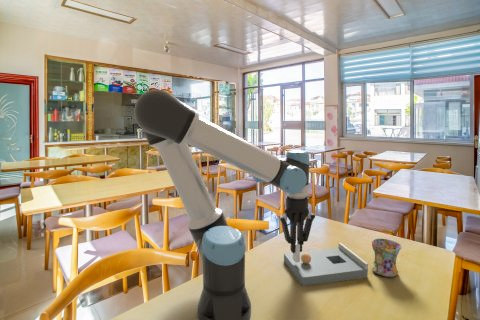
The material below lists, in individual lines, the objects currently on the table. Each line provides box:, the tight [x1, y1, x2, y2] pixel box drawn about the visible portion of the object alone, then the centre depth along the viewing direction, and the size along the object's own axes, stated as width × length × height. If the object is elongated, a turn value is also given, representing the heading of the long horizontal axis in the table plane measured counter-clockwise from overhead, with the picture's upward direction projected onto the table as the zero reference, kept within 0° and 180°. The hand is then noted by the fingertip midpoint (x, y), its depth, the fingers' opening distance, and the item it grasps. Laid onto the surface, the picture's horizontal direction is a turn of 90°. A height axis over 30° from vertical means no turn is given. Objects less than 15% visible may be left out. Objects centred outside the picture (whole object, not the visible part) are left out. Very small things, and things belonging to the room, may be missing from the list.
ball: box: [301, 253, 311, 264], centre depth 104 cm, size 4×4×4 cm
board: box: [283, 242, 369, 287], centre depth 105 cm, size 24×17×5 cm
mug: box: [370, 238, 402, 278], centre depth 104 cm, size 12×9×11 cm
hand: (296, 260), depth 103 cm, fingers closed
